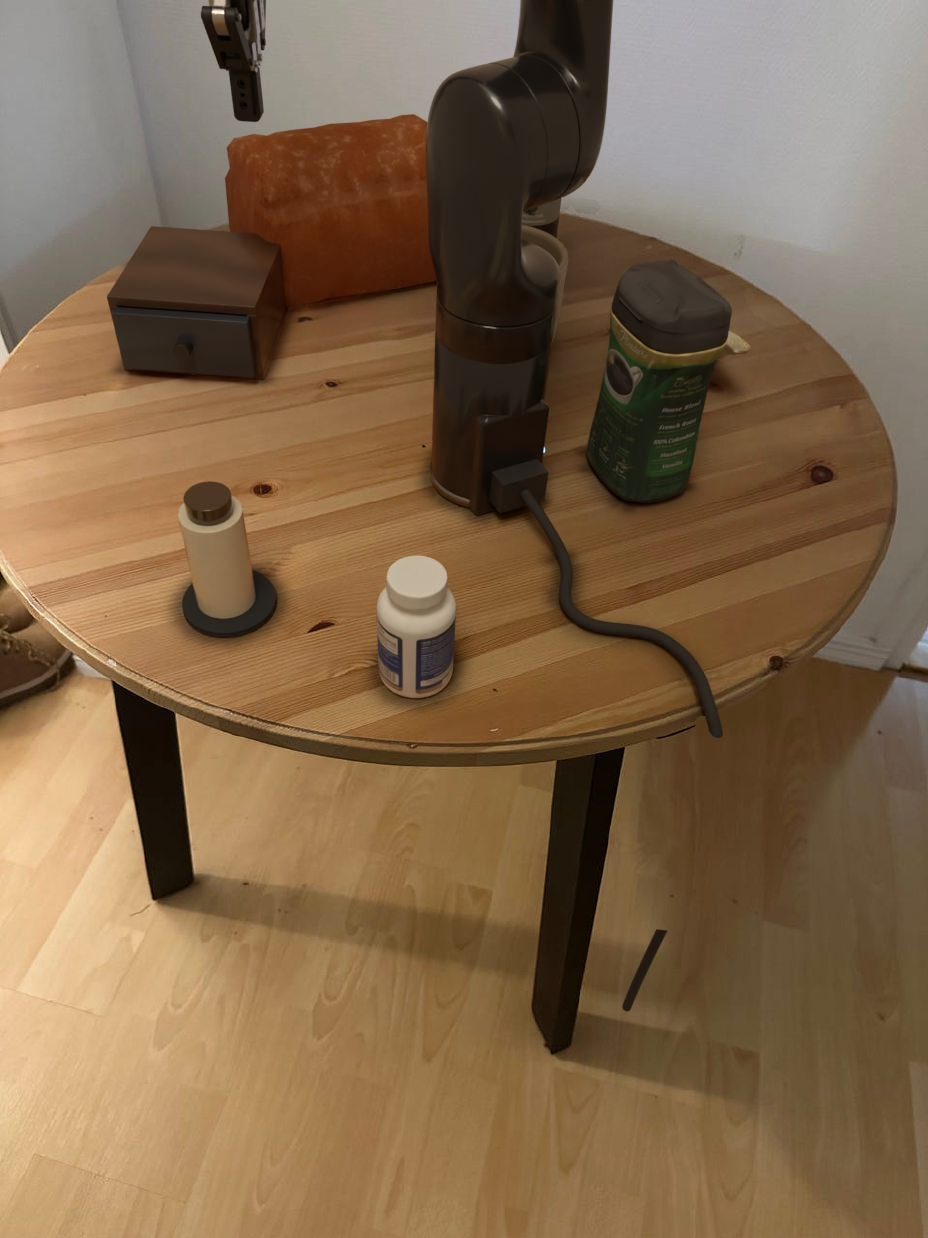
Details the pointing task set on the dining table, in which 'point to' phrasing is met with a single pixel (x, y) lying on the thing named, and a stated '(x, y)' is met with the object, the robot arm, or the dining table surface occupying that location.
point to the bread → (336, 205)
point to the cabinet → (208, 281)
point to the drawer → (185, 341)
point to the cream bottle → (217, 550)
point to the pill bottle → (416, 628)
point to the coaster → (235, 625)
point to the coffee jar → (656, 380)
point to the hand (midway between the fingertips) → (249, 117)
